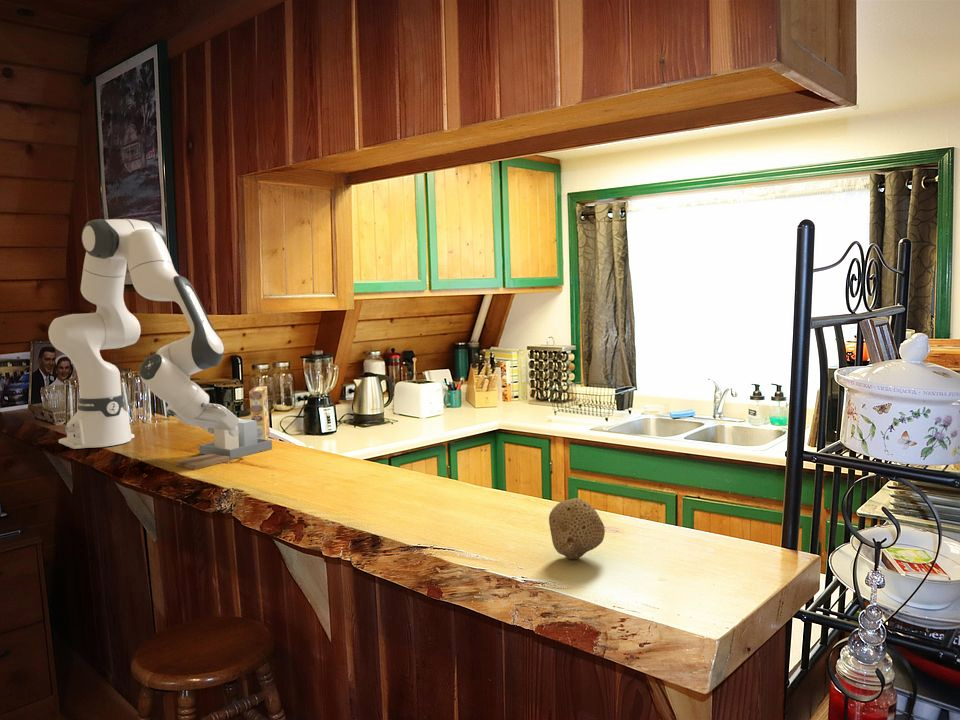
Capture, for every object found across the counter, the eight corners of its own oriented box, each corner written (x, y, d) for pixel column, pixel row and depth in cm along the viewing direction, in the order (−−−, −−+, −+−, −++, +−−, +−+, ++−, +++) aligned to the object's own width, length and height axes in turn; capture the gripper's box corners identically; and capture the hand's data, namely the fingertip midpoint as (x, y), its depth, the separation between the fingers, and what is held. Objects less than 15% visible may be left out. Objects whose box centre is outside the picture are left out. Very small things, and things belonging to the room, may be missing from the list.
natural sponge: (606, 550, 130) (605, 492, 129) (603, 570, 121) (603, 508, 120) (552, 548, 132) (551, 491, 131) (545, 567, 123) (545, 506, 122)
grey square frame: (199, 454, 212) (199, 445, 212) (241, 444, 224) (240, 435, 224) (230, 459, 205) (230, 450, 205) (272, 448, 217) (271, 440, 216)
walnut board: (176, 466, 199) (175, 461, 199) (210, 457, 208) (210, 453, 207) (195, 469, 194) (195, 464, 194) (229, 460, 203) (229, 456, 203)
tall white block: (234, 449, 217) (233, 421, 216) (247, 446, 220) (246, 419, 220) (245, 451, 214) (243, 423, 213) (258, 448, 218) (256, 420, 217)
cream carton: (215, 454, 211) (213, 421, 210) (228, 451, 215) (226, 419, 214) (225, 456, 209) (223, 423, 208) (239, 453, 213) (237, 420, 212)
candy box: (266, 441, 228) (263, 390, 226) (251, 442, 227) (248, 390, 225) (270, 435, 236) (267, 386, 235) (256, 436, 236) (253, 386, 234)
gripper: (223, 395, 198) (255, 426, 207) (175, 391, 209) (208, 420, 218) (209, 415, 194) (243, 446, 203) (161, 409, 206) (195, 439, 215)
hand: (224, 433), depth 211 cm, fingers open, 8 cm apart
